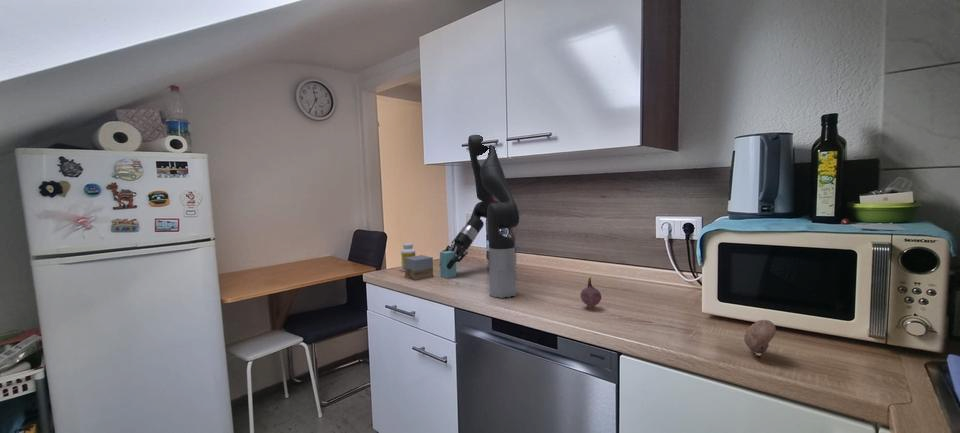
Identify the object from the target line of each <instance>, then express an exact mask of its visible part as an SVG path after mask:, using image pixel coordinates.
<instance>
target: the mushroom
mask: <svg viewBox="0 0 960 433" xmlns="http://www.w3.org/2000/svg"><path fill="white" fill-rule="evenodd" d="M776 332H777V329H776V325H775V323H773V322H772V321H770V320H768V319H759V320H757V321H756V322H754V323H752V324H751V325H750V326H749V327H748V328H747V330H746V331H745V334H744V340H743V341H744V343H745V344H746V346H747V347H748V348H749V350H750V351H752V352H753V353H754V352H756V353H763V354H764V353H765V352H767V351H768V349H769V345H770V344H769V343H770V342H771V341H772V339H774V337H775V334H776Z"/></svg>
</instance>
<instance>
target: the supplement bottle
mask: <svg viewBox="0 0 960 433" xmlns="http://www.w3.org/2000/svg"><path fill="white" fill-rule="evenodd" d="M402 248H403V249H401V251H400V256H401V271H402V272H404V273H405V265H404V258H406V257H413V256H416V249H414V243H408V242H407V243H403V244H402Z"/></svg>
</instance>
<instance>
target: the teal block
mask: <svg viewBox="0 0 960 433" xmlns="http://www.w3.org/2000/svg"><path fill="white" fill-rule="evenodd" d="M454 253H455V252H453V251H444V252H442V251H440V252H439V268H440V269H439V270H440V277H441V278H444V279H451V278H456V277H457V262H456V263H455V264H454V265H453V266H452V268H451V269H448V268H447V267H446V266H447V264H448V263H449V262H450V260H452V257H453V256H454Z"/></svg>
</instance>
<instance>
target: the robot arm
mask: <svg viewBox="0 0 960 433" xmlns="http://www.w3.org/2000/svg"><path fill="white" fill-rule="evenodd" d="M467 140H468V141H467V145H468V152H469V158H470V164H471V167H472V171H473V172H472V173H473V175H474V182H475V183H474V184H475V192H476V198H477V199H478V200H479V201H478V202H477V203H476V204H475V205H474V208H473V211H472V213H471V215H470V217H469V220H468V221H467V222H466V224H465V225H464V226H463V227H462V228H461V229H460V230H459V231H458V233H457V235H456V236H455V238H454V239H453V240H454V242H453V244H452V246H451V245H447V246H446V247H445V249H444V250H445V251H453V252H455V253H454V256H453V257H452V260H450V262H449V263H448V264H447V266H446V267H447V268H448V269H451V268H452V266H453V265H454V264H455V263H456V264H457V263H460V262H461V261H462V260H463V259H464V258H465V257H466V256H467V254H468V253H469V252H468V251H467V250H469V248H470V247H471V245H472V244H473V243H474V242H475V239H476V238H477V236H478V235H479V233H480V231H481V230H482V229H483V227H484V224H485V222H484V221H483V220H482V219H481V218H485V219H486V220H487V234H488V238H487V239H488V267H489V270H488V272H489V274H488V275H489V276H488V278H489V279H488V280H489V295H490V296H491V297H492V298H498V297H499V299H505V297H507V298H511V296H514V297H516V296H517V285H516V284H517V283H516V282H517V281H516V280H517V278H516V262H515V260H516V258H515V257H516V254H515V253H516V252H515V251H516V250H515V246H516V245H515V240H514V239H513V238H512V237H508V236H505V235H503V234H501V233H500V230H499V229H511V228H515V227H517V226H518V224H519V222H520V214H519V213H520V212H519V209H518V206H517V204H516V202H515V200H514V197H513V195H512V193H511V191H510V189H509V186H508V183H507V180H506V179H507V178H506V176H505V173H504V170H503V168H502V165H501V163H500V160H499V156H498V152H497V149H496V150H495V148H496V146H495V147H494V146H492V145H490V146H489V148H488V147H487V146H484V145H482V144H481V142H482V141H483V137H482V136H480V135H477V134H471V135H470V136H468V139H467ZM488 149H489V153H488V155H487V156H486V158H485V159H484V162H483V163H482V165H480V163H479V159H478V157H480V156H479V155H482V154H483V153H485V152H486V151H487V150H488ZM496 152H497V153H496ZM494 198H495V199H496V200H497V201H499V202H495V199H494Z"/></svg>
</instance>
